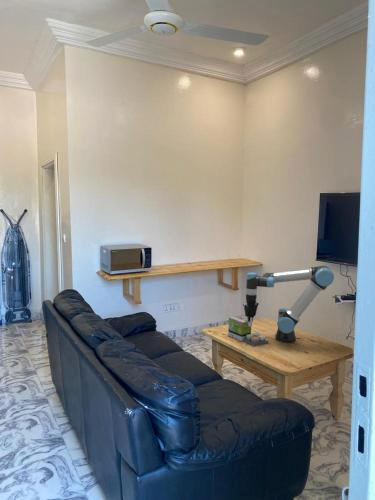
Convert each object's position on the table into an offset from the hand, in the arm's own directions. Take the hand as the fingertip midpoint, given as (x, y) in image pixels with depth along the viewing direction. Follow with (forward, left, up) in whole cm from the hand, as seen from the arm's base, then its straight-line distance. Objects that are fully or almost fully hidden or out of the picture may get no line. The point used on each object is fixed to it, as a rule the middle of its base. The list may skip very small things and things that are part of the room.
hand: (250, 325), depth 280 cm
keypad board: (-3, +3, -12) cm, 13 cm away
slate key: (-6, 0, -11) cm, 12 cm away
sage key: (0, 0, -11) cm, 11 cm away
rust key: (0, +6, -11) cm, 12 cm away
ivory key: (-6, +6, -11) cm, 14 cm away
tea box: (0, -11, -12) cm, 17 cm away
